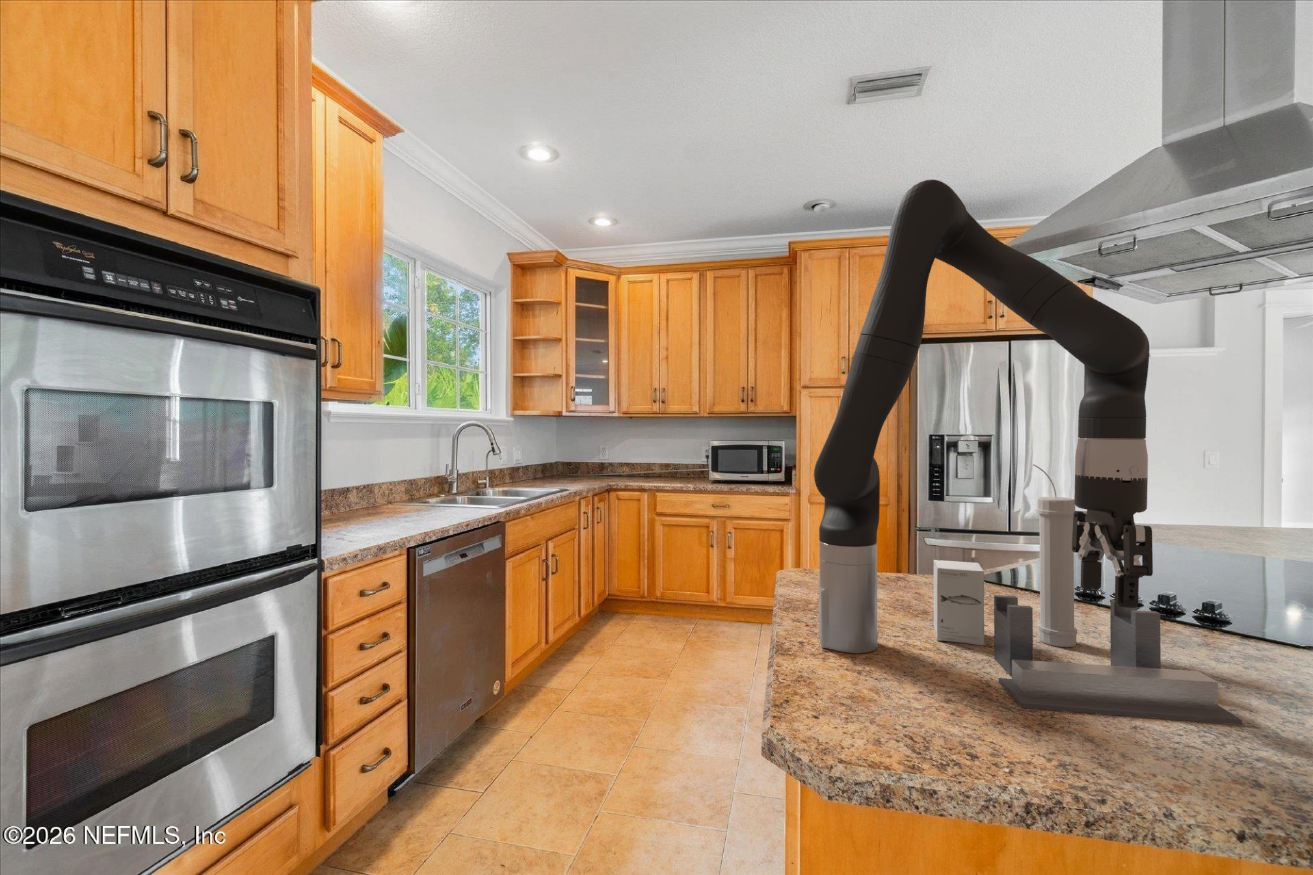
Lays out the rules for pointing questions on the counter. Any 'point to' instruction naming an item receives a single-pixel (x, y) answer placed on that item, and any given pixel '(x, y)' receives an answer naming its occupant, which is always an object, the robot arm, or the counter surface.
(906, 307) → the robot arm
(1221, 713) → the mat
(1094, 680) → the rail
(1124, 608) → the post
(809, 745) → the counter surface
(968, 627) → the supplement box
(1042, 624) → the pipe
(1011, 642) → the post
